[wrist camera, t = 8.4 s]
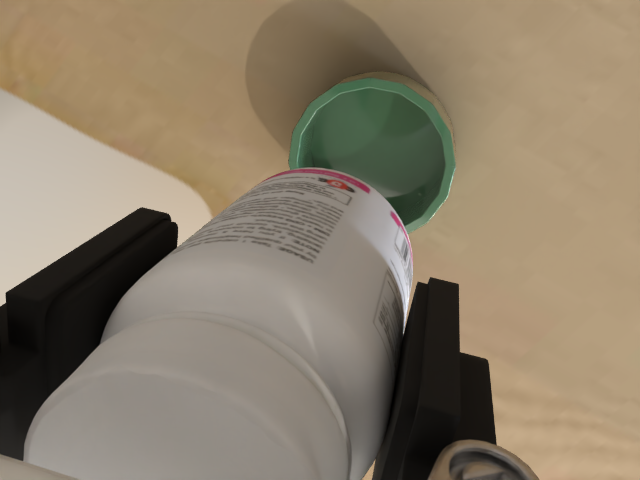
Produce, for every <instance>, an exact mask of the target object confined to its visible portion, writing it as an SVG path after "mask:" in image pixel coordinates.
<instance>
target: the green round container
mask: <svg viewBox="0 0 640 480" xmlns="http://www.w3.org/2000/svg"><path fill="white" fill-rule="evenodd" d="M288 161H289V167H290V170H293V169H298V168H325V169H331V170H336V171H339V172H343V173H346V174H348V175H351V176H353V177H355V178H358V179H360V180H361V181H363V182H365V183H367V184H368V185H369V186H371V187H372V188H374V189H375V190H376V191H377V192H378V193H380V194H381V195H382V196H383V197H384V198H385V199H386V200H387V201H388V202H389V204H390V205H391V206H392V207H393V209H394V210H395V211H396V213H397V214H398V216H399V218H400V219H401V221H402V223H403V225H404V227H405V229H406V232H407V234H409V233H411V232H412V231H414V230H416V229H418V228H419V227H421V226H423V225H425V224H427V222H429V221H430V219H431V218H432V217H433V216H434V214H435V213H436V212H437V211H438V209H439V208H440V207H441V205H442V204H443V203H444V202H445V200H446V199H447V197H448V194H449V191H450V187H451V183H452V179H453V176H454V172H455V168H456V150H455V143H454V135H453V129H452V123H451V120H450V119H449V117H448V115H447V113H446V111H445V109H444V107H443V106H442V104H441V103H440V102H439V100H438V99H437V98H436V96H435V95H434V94H433V93H431V91H429V90H428V89H427V88H426V87H424V86H423V85H422V84H420V83H418V82H417V81H415V80H413V79H411V78H409V77H407V76H404V75H400V74H396V73H391V72H382V71H374V72H368V73H362V74H359V75H355V76H351V77H348V78H345V79H344V80H342V81H341V82H339V83H338V84H336V85H335V86H333V87H332V88H330V89H329V90H328V91H326V92H325V93H323V94H322V95H321V96H319V97H318V98H316V99H315V100H313V101H312V102H311V103H310V104H309V105H308V107H307V108H306V110H305V112H304V113H303V115H302V117H301V118H300V120H299V122H298V123H297V125H296V126H295V128H294V130H293V133H292V140H291V147H290V153H289V160H288Z"/></svg>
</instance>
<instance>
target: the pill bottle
mask: <svg viewBox="0 0 640 480" xmlns="http://www.w3.org/2000/svg"><path fill="white" fill-rule="evenodd" d="M412 276H413V259H412V249H411V244H410V240H409V237H408V234H407V232H406V229H405V227H404V225H403V223H402V221H401V219H400V218H399V216H398V214H397V213H396V211H395V210H394V209H393V207H392V206H391V205H390V204H389V202H388V201H387V200H386V199H385V198H384V197H383V196H382V195H381V194H380V193H378V192H377V191H376V190H375V189H374V188H372V187H371V186H369V185H368V184H367V183H365V182H363V181H361V180H360V179H358V178H355V177H353V176H351V175H348V174H346V173H343V172H339V171H336V170H331V169H325V168H298V169H293V170H288V171H285V172H282V173H279V174H276V175H274V176H272V177H270V178H268V179H266V180H264V181H263V182H261V183H260V184H258V185H257V186H255V187H254V188H252V189H251V190H249V191H248V192H247V193H245V194H244V195H243V196H241V197H240V198H239V199H237V200H236V201H235V202H234V203H232V204H231V205H230V206H229V207H227V208H226V209H225V210H223V211H222V212H221V213H220V214H218V215H217V216H216V217H215V218H213V219H212V220H211V221H210V222H208V223H207V224H206V225H204V226H203V227H202V228H201V229H200V230H199V231H197V232H196V233H195V234H194V235H192V236H191V237H190V238H189V239H187V240H186V241H185V242H183V243H182V244H181V245H180V246H179V247H177V248H176V249H175V250H174V251H172V252H171V253H170V254H169V255H167V256H166V257H165V258H163V259H162V260H161V261H160V262H159V263H158V264H156V265H155V266H154V267H153V268H152V269H150V270H149V271H148V272H147V273H146V274H144V275H143V276H142V277H141V278H140V279H139V280H138V281H137V282H136V283H135V284H134V285H133V286H132V287H131V288H130V289H129V290H128V291H127V292H126V294H125V295H124V296H123V297H122V298H121V300H120V301H119V303H118V304H117V306H116V307H115V309H114V310H113V312H112V314H111V316H110V318H109V320H108V322H107V324H106V326H105V329H104V332H103V335H102V338H101V342H100V345H99V346H98V347H97V348H96V349H95V350H94V351H93V352H92V353H91V354H90V355H89V356H88V357H87V359H86V360H85V361H84V362H83V363H82V364H81V365H80V366H79V367H78V368H77V369H76V370H75V371H74V372H73V373H72V374H71V376H70V377H69V378H68V379H67V380H65V381H64V382H63V383H62V384H61V385H60V386H59V387H58V388H57V389H56V390H55V391H54V392H53V393H52V394H51V395H50V396H49V397H48V398H47V400H46V401H45V402H44V403H43V405H42V406H41V407H40V409H39V410H38V412H37V413H36V415H35V417H34V419H33V421H32V423H31V426H30V427H29V430H28V433H27V436H26V440H25V443H24V460H23V462H26V463H30V464H33V465H36V466H39V467H42V468H45V469H49V470H52V471H55V472H58V473H61V474H65V475H68V476H71V477H74V478H77V479H81V480H361V479H362V478H363V477H364V476H365V474H366V473H367V471H368V470H369V468H370V467H371V466H372V464H373V462H374V461H375V459H376V457H377V455H378V452H379V450H380V447H381V445H382V442H383V439H384V436H385V433H386V430H387V425H388V421H389V417H390V411H391V405H392V400H393V394H394V389H395V382H396V377H397V371H398V365H399V358H400V351H401V346H402V339H403V333H404V327H405V321H406V315H407V309H408V302H409V296H410V291H411V286H412Z"/></svg>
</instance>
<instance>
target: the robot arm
mask: <svg viewBox="0 0 640 480" xmlns="http://www.w3.org/2000/svg"><path fill="white" fill-rule="evenodd" d="M177 238H178V226H177V224H176V223H175V222H171V217H170V215H169V214H167V213H163V212H159V211H155V210H151V209H147V208H143V207H142V208H139V209H137V210H136V211H134V212H133V213H131V214H129V215H128V216H126V217H125V218H123V219H122V220H120V221H118V222H117V223H115V224H114V225H112V226H110V227H109V228H107V229H106V230H104V231H103V232H101V233H99V234H98V235H96V236H95V237H93V238H92V239H90V240H89V241H87V242H85V243H84V244H82V245H80V246H79V247H78V248H76V249H74V250H73V251H71V252H69V253H68V254H66V255H65V256H63V257H61V258H60V259H58V260H57V261H55V262H54V263H52V264H51V265H49V266H47V267H46V268H44V269H43V270H41V271H40V272H38V273H36V274H35V275H33V276H31V277H30V278H28V279H27V280H25V281H24V282H22V283H20V284H19V285H17V286H16V287H14V288H13V289H11V290H9V291H8V292H6V303H5V304H3V305H2V306H0V480H81V479H77V478H74V477H71V476H68V475H65V474H61V473H58V472H55V471H52V470H49V469H45V468H42V467H39V466H36V465H33V464H30V463H26V462H23V460H24V443H25V440H26V436H27V433H28V430H29V427H30V426H31V423H32V421H33V419H34V417H35V415H36V413H37V412H38V410H39V409H40V407H41V406H42V405H43V403H44V402H45V401H46V400H47V398H48V397H49V396H50V395H51V394H52V393H53V392H54V391H55V390H56V389H57V388H58V387H59V386H60V385H61V384H62V383H63V382H64V381H65V380H67V379H68V378H69V377H70V376H71V374H72V373H73V372H74V371H75V370H76V369H77V368H78V367H79V366H80V365H81V364H82V363H83V362H84V361H85V360H86V359H87V357H88V356H89V355H90V354H91V353H92V352H93V351H94V350H95V349H96V348H97V347H98V346H99V345H100V342H101V338H102V335H103V332H104V329H105V326H106V324H107V322H108V320H109V318H110V316H111V314H112V312H113V310H114V309H115V307H116V306H117V304H118V303H119V301H120V300H121V298H122V297H123V296H124V295H125V294H126V292H127V291H128V290H129V289H130V288H131V287H132V286H133V285H134V284H135V283H136V282H137V281H138V280H139V279H140V278H141V277H142V276H143V275H144V274H146V273H147V272H148V271H149V270H150V269H152V268H153V267H154V266H155V265H156V264H158V263H159V262H160V261H161V260H162V259H163V258H165V257H166V256H167V255H169V254H170V253H171V252H172V251H174V250H175V249H176V248H177ZM372 480H539V478H538V477H537V476H536V475H535V473H534V472H533V471H532V469H531V468H530V467H529V466H528V465H527V464H526V463H524V462H523V461H522V460H521V459H520V458H518V457H517V456H516V455H514V454H513V453H511V452H509V451H507V450H505V449H504V448H502V447H500V446H497V445H496V434H495V424H494V414H493V403H492V393H491V383H490V372H489V364H488V360H487V359H484V358H480V357H477V356H473V355H469V354H465V353H461V352H460V338H459V285H458V284H456V283H452V282H448V281H444V280H440V279H436V278H432V277H430V279H429V282H428V284H425V283H421V282H418V283H417V286H416V289H415V293H414V297H413V300H412V304H411V308H410V312H409V316H408V319H407V323H406V327H405V331H404V335H403V339H402V346H401V351H400V358H399V365H398V371H397V377H396V382H395V389H394V394H393V400H392V405H391V411H390V417H389V421H388V425H387V430H386V433H385V436H384V439H383V442H382V445H381V447H380V450H379V452H378V455H377V457H376V460H375V466H374V472H373V477H372Z"/></svg>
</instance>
